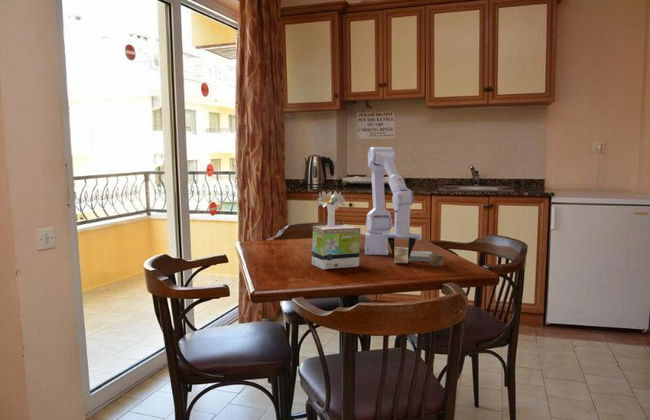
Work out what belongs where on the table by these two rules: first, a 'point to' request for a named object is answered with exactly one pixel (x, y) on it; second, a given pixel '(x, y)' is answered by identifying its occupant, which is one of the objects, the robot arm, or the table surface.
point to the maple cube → (401, 255)
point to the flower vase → (331, 204)
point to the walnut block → (436, 259)
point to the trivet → (419, 256)
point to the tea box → (335, 246)
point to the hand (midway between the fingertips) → (401, 257)
